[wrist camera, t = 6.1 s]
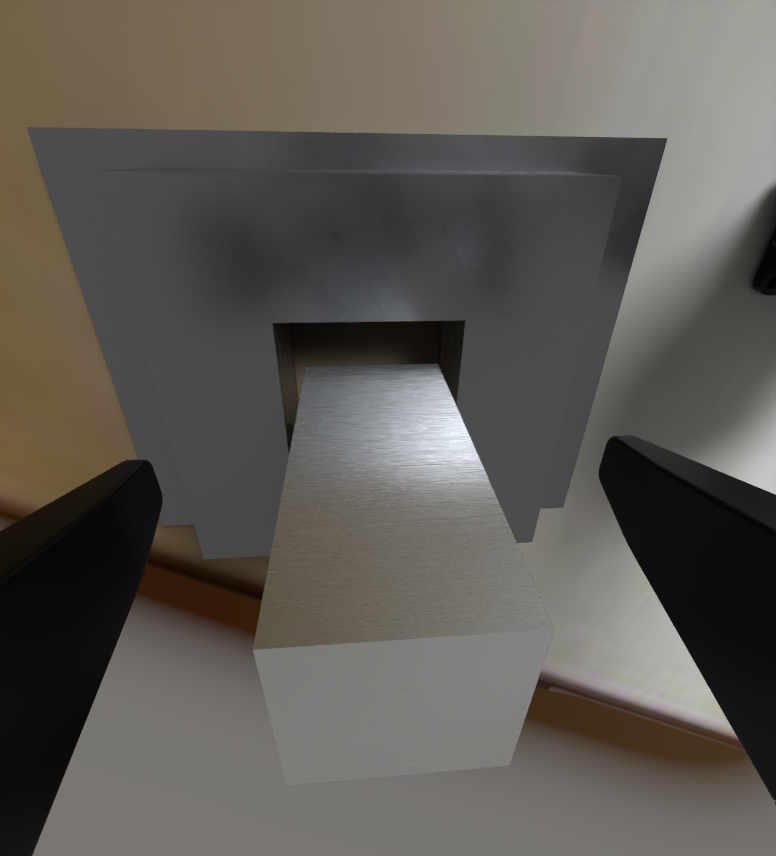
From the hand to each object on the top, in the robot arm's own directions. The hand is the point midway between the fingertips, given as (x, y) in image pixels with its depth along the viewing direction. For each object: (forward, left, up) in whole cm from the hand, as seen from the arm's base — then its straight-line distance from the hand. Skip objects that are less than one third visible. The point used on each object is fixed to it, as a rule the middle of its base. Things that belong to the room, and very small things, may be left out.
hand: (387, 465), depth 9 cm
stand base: (0, +2, -10) cm, 11 cm away
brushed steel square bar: (0, +2, -5) cm, 6 cm away
